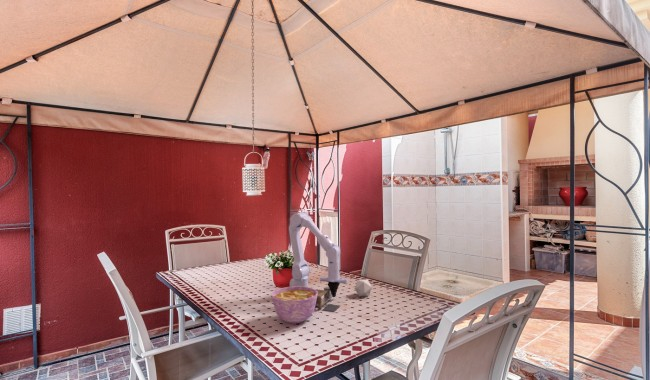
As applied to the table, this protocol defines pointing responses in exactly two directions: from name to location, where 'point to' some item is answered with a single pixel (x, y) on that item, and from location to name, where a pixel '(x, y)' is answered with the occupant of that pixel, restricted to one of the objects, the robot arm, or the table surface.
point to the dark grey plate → (331, 308)
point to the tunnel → (320, 294)
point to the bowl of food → (294, 303)
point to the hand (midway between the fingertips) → (334, 296)
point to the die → (363, 288)
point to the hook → (326, 296)
